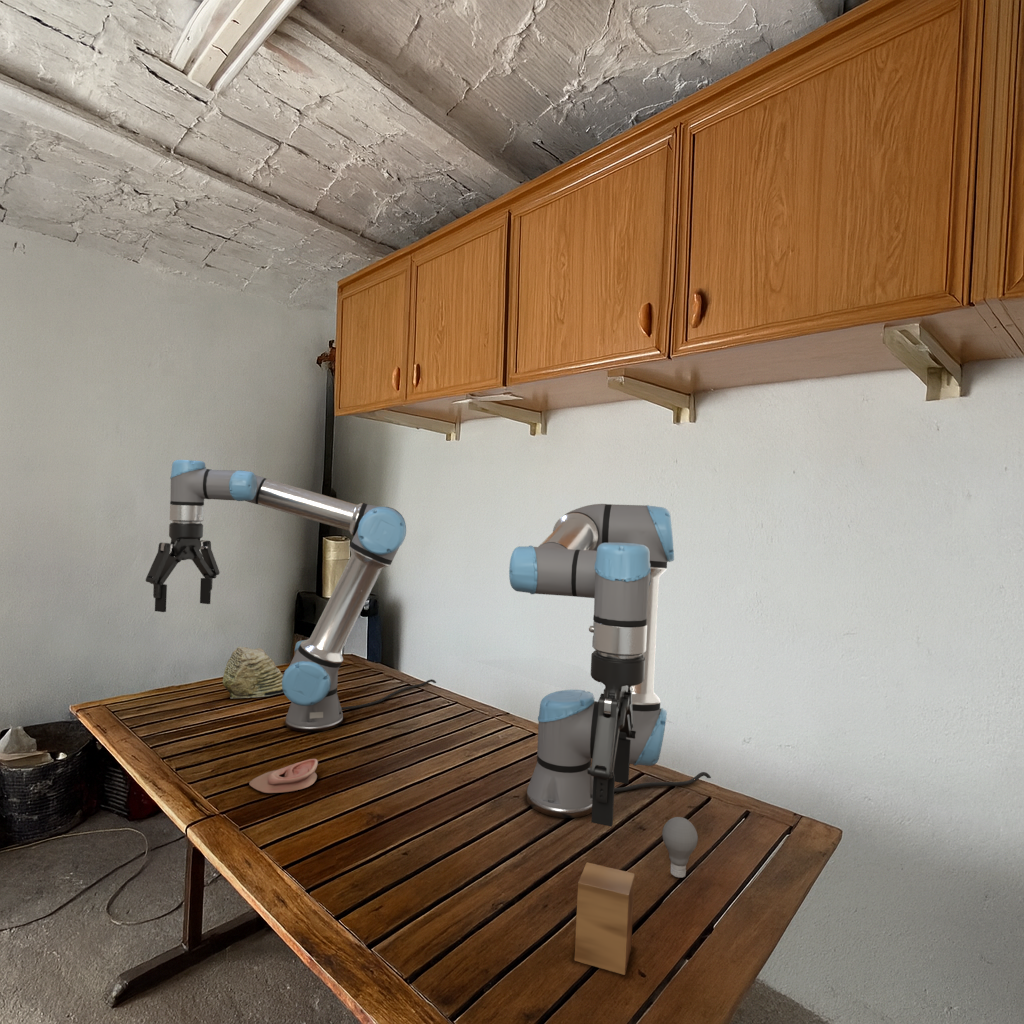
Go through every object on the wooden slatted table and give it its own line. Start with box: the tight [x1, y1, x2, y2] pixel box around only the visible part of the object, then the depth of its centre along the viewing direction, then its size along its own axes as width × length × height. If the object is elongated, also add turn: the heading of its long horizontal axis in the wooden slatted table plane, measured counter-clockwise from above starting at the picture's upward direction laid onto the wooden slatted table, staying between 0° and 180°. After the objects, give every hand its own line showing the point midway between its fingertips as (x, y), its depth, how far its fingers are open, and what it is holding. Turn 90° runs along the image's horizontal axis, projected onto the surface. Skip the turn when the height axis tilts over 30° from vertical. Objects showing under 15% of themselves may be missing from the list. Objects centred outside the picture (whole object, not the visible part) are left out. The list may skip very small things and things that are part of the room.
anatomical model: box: [248, 758, 319, 794], centre depth 139 cm, size 13×4×12 cm
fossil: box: [222, 646, 284, 699], centre depth 198 cm, size 9×18×15 cm, turn 132°
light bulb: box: [661, 816, 699, 879], centre depth 110 cm, size 6×6×10 cm
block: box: [574, 861, 636, 976], centre depth 90 cm, size 6×7×11 cm
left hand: (183, 607), depth 158 cm, fingers open, 13 cm apart
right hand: (611, 801), depth 90 cm, fingers open, 13 cm apart
